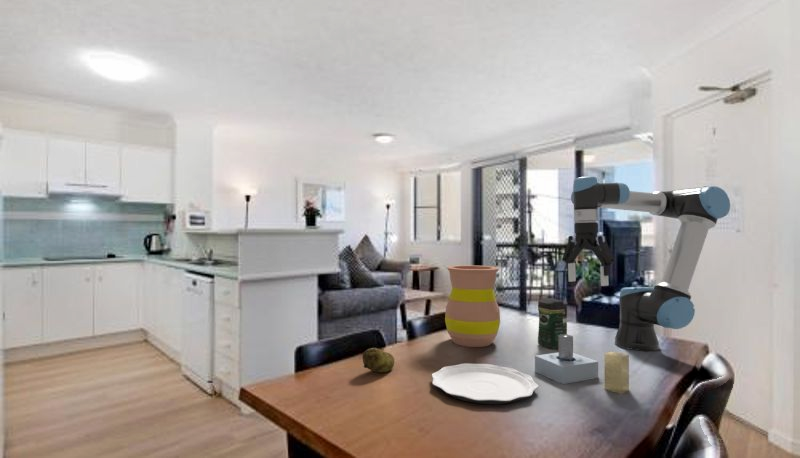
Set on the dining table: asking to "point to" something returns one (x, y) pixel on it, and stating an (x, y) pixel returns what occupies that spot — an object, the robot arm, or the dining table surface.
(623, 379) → the square bit
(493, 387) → the plate
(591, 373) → the bore block
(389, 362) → the potato
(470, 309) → the vase
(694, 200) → the robot arm
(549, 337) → the coffee jar
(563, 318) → the coffee can
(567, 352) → the round bit
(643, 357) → the dining table surface
